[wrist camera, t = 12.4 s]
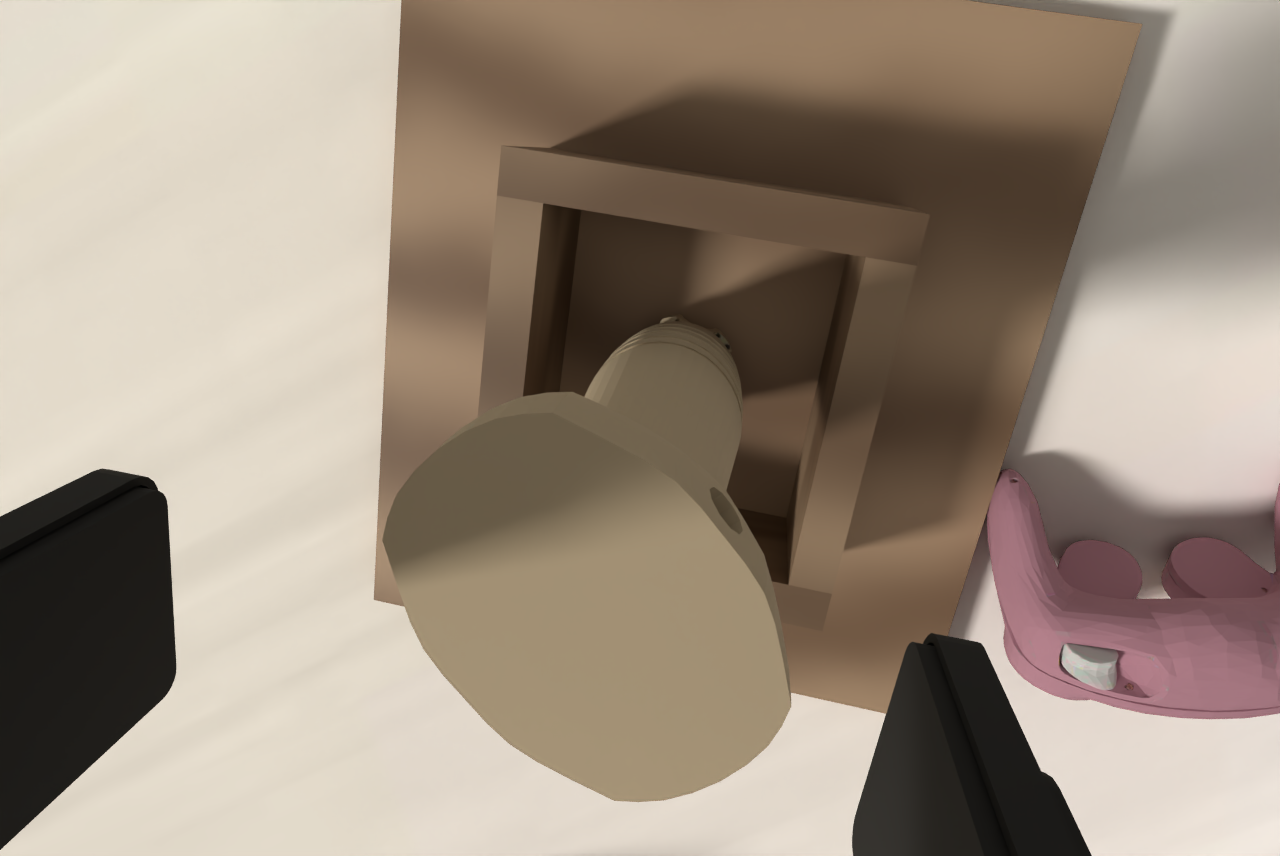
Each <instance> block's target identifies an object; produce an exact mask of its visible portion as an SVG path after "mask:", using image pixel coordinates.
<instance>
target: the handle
mask: <svg viewBox="0 0 1280 856" xmlns="http://www.w3.org/2000/svg"><path fill="white" fill-rule="evenodd" d="M731 351H732V350H731V346H730V343H729V341H728V339H727V337H726V336H725V335H724V334H723V333H722V332H721V331H720V330H718V329H717V328H714V329H706V328H704V327H702V326H699V325H696V324H693V323H690V322H689V321H688V320H686V319H685V318H684V317H683V316H682V315H680V314H678V315H670V316H666V317H664V318H663V319H662V320H661V322H660V324H656V325H653V326H650V327H648V328H646V329H644V330H642V331H640V332H638V333H637V334H635V335H633V336H632V337H631V338H629V339H628V340H627V341H626V342H624V343H623V344H622V345H621V346H620V347H619V348H618V349H616V350H615V351H614V352H613V353H612V354H611V356H610V357H609V358H608V359H607V361H606V362H605V363H604V364H603V366H602V367H601V368H600V370H599V371H598V373H597V374H596V376H595V377H594V379H593V381H592V382H591V384H590V386H589V388H588V390H587V392H586V394H585V396H584V397H583V396H581V395H579V394H576V393H574V392H550V393H542V394H536V395H530V396H524V397H519V398H517V399H514V400H512V401H509V402H507V403H505V404H502V405H500V406H497V407H495V408H493V409H491V410H489V411H487V412H486V413H484V414H483V415H481V416H479V417H478V418H476V419H475V420H473V421H472V422H470V423H469V424H467V425H465V426H464V427H462V428H461V429H459V430H458V431H457V432H456V433H455V434H454V435H452V436H451V437H450V438H449V439H448V440H447V441H446V442H445V443H444V444H442V445H441V446H440V447H439V448H438V449H437V450H436V451H435V452H434V453H433V454H432V455H431V456H430V457H428V458H427V459H426V460H425V461H424V462H423V463H422V464H421V465H420V466H419V467H418V468H417V469H415V470H414V472H413V473H412V474H411V476H410V477H409V478H408V480H407V481H406V482H405V484H404V485H403V486H402V488H401V489H400V491H399V492H398V493H397V495H396V497H395V500H394V502H393V505H392V507H391V510H390V512H389V515H388V517H387V521H386V525H385V530H384V534H383V538H382V541H383V544H384V547H385V550H386V553H387V556H388V559H389V562H390V565H391V568H392V571H393V574H394V577H395V580H396V583H397V586H398V589H399V592H400V595H401V598H402V600H403V603H404V606H405V609H406V612H407V614H408V617H409V620H410V622H411V624H412V627H413V629H414V631H415V633H416V635H417V637H418V639H419V641H420V643H421V645H422V647H423V649H424V650H425V652H426V653H427V654H428V656H429V657H430V658H431V660H432V661H433V662H434V664H435V665H436V666H437V668H438V669H439V670H440V672H441V673H442V674H443V676H444V677H445V678H446V679H447V680H448V681H449V682H450V683H451V684H452V685H453V687H454V688H455V689H456V690H457V691H458V692H459V693H460V694H461V695H462V696H463V698H464V699H465V700H466V701H467V702H468V703H469V704H470V705H471V706H472V708H473V709H474V710H475V711H476V712H477V713H478V714H479V715H480V716H481V717H482V719H483V720H484V721H485V722H486V723H487V724H488V725H489V726H490V727H491V728H493V729H494V730H495V731H496V732H497V733H498V734H499V735H500V736H501V737H502V738H503V739H504V740H506V741H507V742H508V743H509V744H510V745H512V746H513V747H515V748H516V749H518V750H519V751H521V752H522V753H524V754H526V755H527V756H529V757H530V758H532V759H533V760H535V761H537V762H538V763H540V764H542V765H544V766H546V767H548V768H550V769H552V770H554V771H556V772H558V773H560V774H561V775H563V776H565V777H567V778H569V779H571V780H573V781H575V782H577V783H579V784H581V785H583V786H585V787H587V788H589V789H591V790H594V791H596V792H598V793H600V794H602V795H604V796H606V797H608V798H610V799H612V800H614V801H630V802H644V801H660V800H667V799H671V798H675V797H679V796H683V795H686V794H690V793H693V792H696V791H698V790H701V789H703V788H705V787H708V786H710V785H712V784H715V783H717V782H719V781H721V780H723V779H725V778H726V777H728V776H730V775H731V774H733V773H734V772H736V771H738V770H739V769H741V768H742V767H744V766H746V765H747V764H748V763H749V762H751V761H752V760H753V759H754V758H755V757H756V756H757V755H758V754H760V753H761V752H762V751H763V750H764V749H765V748H766V747H767V746H768V745H769V744H770V742H771V741H772V740H773V738H774V737H775V735H776V734H777V732H778V731H779V729H780V728H781V727H782V724H783V722H784V720H785V718H786V716H787V714H788V712H789V710H790V708H791V689H790V674H789V666H788V660H787V654H786V647H785V642H784V636H783V631H782V625H781V620H780V615H779V610H778V606H777V601H776V597H775V592H774V588H773V584H772V581H771V577H770V574H769V570H768V567H767V563H766V560H765V556H764V553H763V552H762V550H761V548H760V546H759V545H758V543H757V541H756V539H755V538H754V536H753V534H752V532H751V531H750V529H749V527H748V525H747V524H746V522H745V520H744V518H743V517H742V515H741V514H740V512H739V510H738V509H737V507H736V506H735V504H734V503H733V501H732V499H731V498H730V496H729V495H728V493H727V491H726V490H727V486H728V482H729V479H730V475H731V472H732V468H733V465H734V461H735V458H736V454H737V451H738V447H739V443H740V439H741V431H742V418H743V400H742V390H741V383H740V378H739V374H738V371H737V367H736V364H735V362H734V360H733V357H732V355H731Z"/></svg>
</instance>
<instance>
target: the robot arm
mask: <svg viewBox="0 0 1280 856" xmlns="http://www.w3.org/2000/svg"><path fill="white" fill-rule="evenodd" d="M175 675H176V651H175V633H174V615H173V597H172V578H171V560H170V542H169V524H168V505H167V500H166V498H165V496H164V494H163V493H161V492H160V491H158V488H157V486H156V485H155V483H154V481H153V480H151V479H150V478H148V477H144V476H139V475H134V474H129V473H124V472H119V471H113V470H108V469H99V470H96V471H93V472H91V473H89V474H87V475H85V476H83V477H81V478H79V479H77V480H74V481H72V482H70V483H68V484H66V485H64V486H62V487H60V488H58V489H56V490H54V491H52V492H50V493H48V494H46V495H44V496H42V497H40V498H38V499H35V500H33V501H31V502H29V503H27V504H25V505H23V506H21V507H19V508H17V509H15V510H13V511H11V512H9V513H7V514H5V515H3V516H1V517H0V850H1V849H2V848H3V847H4V846H5V845H6V844H7V843H8V842H9V841H10V840H11V839H12V838H14V837H15V836H16V835H17V834H18V833H19V832H20V831H21V830H22V829H23V828H24V827H25V826H26V825H28V824H29V823H30V822H31V821H32V820H33V819H34V818H35V817H36V816H37V815H38V814H39V813H40V812H42V811H43V810H44V809H45V808H46V807H47V806H48V805H49V804H50V803H51V802H52V801H53V800H54V799H56V798H57V797H58V796H59V795H60V794H61V793H62V792H63V791H64V790H65V789H66V788H67V787H68V786H70V785H71V784H72V783H73V782H74V781H75V780H76V779H77V778H78V777H79V776H80V775H81V774H82V773H84V772H85V771H86V770H87V769H88V768H89V767H90V766H91V765H92V764H93V763H94V762H95V761H96V760H98V759H99V758H100V757H101V756H102V755H103V754H104V753H105V752H106V751H107V750H108V749H109V748H110V747H112V746H113V745H114V744H115V743H116V742H117V741H118V740H119V739H120V738H121V737H122V736H123V735H124V734H126V733H127V732H128V731H129V730H130V729H131V728H132V727H133V726H134V725H135V724H136V723H137V722H138V721H140V720H141V719H142V718H143V717H144V716H145V715H146V714H147V713H148V712H149V711H150V710H151V709H153V708H154V707H155V706H156V705H157V704H158V703H159V702H160V701H161V700H162V699H163V698H164V697H165V696H166V695H167V693H168V691H169V690H170V688H171V686H172V684H173V682H174V679H175ZM852 848H853V856H1091V853H1090V851H1089V849H1088V847H1087V845H1086V843H1085V841H1084V839H1083V837H1082V834H1081V832H1080V830H1079V828H1078V826H1077V824H1076V822H1075V820H1074V818H1073V816H1072V813H1071V811H1070V809H1069V807H1068V805H1067V803H1066V801H1065V799H1064V797H1063V795H1062V792H1061V790H1060V788H1059V787H1058V785H1057V784H1056V782H1055V781H1054V779H1053V778H1052V777H1051V776H1049V775H1048V774H1046V773H1044V772H1041V770H1040V768H1039V766H1038V764H1037V762H1036V759H1035V757H1034V755H1033V753H1032V751H1031V748H1030V746H1029V744H1028V742H1027V740H1026V738H1025V735H1024V733H1023V731H1022V729H1021V727H1020V725H1019V722H1018V720H1017V718H1016V716H1015V714H1014V711H1013V709H1012V707H1011V705H1010V703H1009V701H1008V698H1007V696H1006V694H1005V692H1004V690H1003V687H1002V685H1001V683H1000V681H999V679H998V677H997V674H996V672H995V670H994V668H993V666H992V664H991V661H990V659H989V657H988V655H987V653H986V650H985V648H984V647H983V645H982V644H981V643H978V642H974V641H969V640H964V639H959V638H954V637H949V636H944V635H939V634H934V633H930V634H929V635H927V637H926V639H925V640H924V642H923V644H921V643H916V642H911V643H909V645H908V646H907V648H906V651H905V654H904V657H903V660H902V664H901V667H900V670H899V674H898V677H897V680H896V683H895V687H894V690H893V693H892V697H891V700H890V703H889V706H888V710H887V713H886V716H885V720H884V723H883V726H882V730H881V733H880V736H879V739H878V743H877V746H876V749H875V753H874V756H873V759H872V762H871V766H870V769H869V772H868V776H867V779H866V782H865V785H864V789H863V792H862V795H861V799H860V802H859V805H858V808H857V812H856V815H855V819H854V825H853V835H852Z"/></svg>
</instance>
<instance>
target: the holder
mask: <svg viewBox="0 0 1280 856" xmlns="http://www.w3.org/2000/svg"><path fill="white" fill-rule="evenodd" d="M1141 27H1142V24H1139V23H1131V22H1124V21H1116V20H1109V19H1101V18H1094V17H1087V16H1079V15H1072V14H1064V13H1057V12H1049V11H1042V10H1034V9H1027V8H1020V7H1012V6H1005V5H997V4H990V3H982V2H975V1H968V0H402V1H401V23H400V45H399V66H398V88H397V110H396V131H395V153H394V175H393V196H392V218H391V240H390V262H389V283H388V305H387V327H386V348H385V370H384V392H383V413H382V435H381V457H380V479H379V500H378V522H377V544H376V565H375V587H374V600H377V601H382V602H386V603H391V604H395V605H400V606H404V603H403V600H402V598H401V595H400V592H399V589H398V586H397V583H396V580H395V577H394V574H393V571H392V568H391V565H390V562H389V559H388V556H387V553H386V550H385V547H384V544H383V541H382V538H383V534H384V530H385V525H386V521H387V517H388V515H389V512H390V510H391V507H392V505H393V502H394V500H395V497H396V495H397V493H398V492H399V491H400V489H401V488H402V486H403V485H404V484H405V482H406V481H407V480H408V478H409V477H410V476H411V474H412V473H413V472H414V470H415V469H417V468H418V467H419V466H420V465H421V464H422V463H423V462H424V461H425V460H426V459H427V458H428V457H430V456H431V455H432V454H433V453H434V452H435V451H436V450H437V449H438V448H439V447H440V446H441V445H442V444H444V443H445V442H446V441H447V440H448V439H449V438H450V437H451V436H452V435H454V434H455V433H456V432H457V431H458V430H459V429H461V428H462V427H464V426H465V425H467V424H469V423H470V422H472V421H473V420H475V419H476V418H478V417H479V416H481V415H483V414H484V413H486V412H487V411H489V410H491V409H493V408H495V407H497V406H500V405H502V404H505V403H507V402H509V401H512V400H514V399H517V398H519V397H524V396H530V395H536V394H542V393H550V392H574V393H576V394H579V395H581V396H583V397H584V396H585V394H586V392H587V390H588V388H589V386H590V384H591V382H592V381H593V379H594V377H595V376H596V374H597V373H598V371H599V370H600V368H601V367H602V366H603V364H604V363H605V362H606V361H607V359H608V358H609V357H610V356H611V354H612V353H613V352H614V351H615V350H616V349H618V348H619V347H620V346H621V345H622V344H623V343H624V342H626V341H627V340H628V339H629V338H631V337H632V336H633V335H635V334H637V333H638V332H640V331H642V330H644V329H646V328H648V327H650V326H653V325H656V324H660V322H661V320H662V319H663V318H664V317H666V316H670V315H678V314H680V315H682V316H683V317H684V318H685V319H686V320H688V321H689V322H690V323H693V324H696V325H699V326H702V327H704V328H706V329H714V328H717V329H718V330H720V331H721V332H722V333H723V334H724V335H725V336H726V337H727V339H728V341H729V343H730V346H731V350H732V351H731V355H732V357H733V360H734V362H735V364H736V367H737V371H738V374H739V378H740V383H741V390H742V400H743V418H742V431H741V439H740V443H739V447H738V451H737V454H736V458H735V461H734V465H733V468H732V472H731V475H730V479H729V482H728V486H727V490H726V491H727V493H728V495H729V496H730V498H731V499H732V501H733V503H734V504H735V506H736V507H737V509H738V510H739V512H740V514H741V515H742V517H743V518H744V520H745V522H746V524H747V525H748V527H749V529H750V531H751V532H752V534H753V536H754V538H755V539H756V541H757V543H758V545H759V546H760V548H761V550H762V552H763V553H764V556H765V560H766V563H767V567H768V570H769V574H770V577H771V581H772V584H773V588H774V592H775V597H776V601H777V606H778V610H779V615H780V620H781V625H782V631H783V636H784V642H785V647H786V654H787V660H788V666H789V674H790V689H791V693H796V694H800V695H805V696H809V697H814V698H818V699H823V700H827V701H832V702H836V703H841V704H845V705H850V706H854V707H859V708H863V709H868V710H872V711H877V712H881V713H887V710H888V706H889V703H890V700H891V697H892V693H893V690H894V687H895V683H896V680H897V677H898V674H899V670H900V667H901V664H902V660H903V657H904V654H905V651H906V648H907V646H908V645H909V643H911V642H916V643H921V644H923V642H924V640H925V639H926V637H927V635H929V634H930V633H934V634H939V635H944V636H948V633H949V630H950V627H951V624H952V621H953V617H954V614H955V611H956V608H957V605H958V602H959V599H960V595H961V592H962V589H963V586H964V583H965V580H966V577H967V573H968V570H969V567H970V564H971V561H972V558H973V555H974V551H975V548H976V545H977V542H978V539H979V536H980V533H981V529H982V526H983V523H984V520H985V517H986V514H987V511H988V507H989V504H990V501H991V498H992V495H993V492H994V489H995V485H996V482H997V479H998V476H999V473H1000V470H1001V467H1002V463H1003V460H1004V457H1005V454H1006V451H1007V448H1008V445H1009V441H1010V438H1011V435H1012V432H1013V429H1014V426H1015V423H1016V420H1017V416H1018V413H1019V410H1020V407H1021V404H1022V401H1023V398H1024V394H1025V391H1026V388H1027V385H1028V382H1029V379H1030V376H1031V372H1032V369H1033V366H1034V363H1035V360H1036V357H1037V354H1038V350H1039V347H1040V344H1041V341H1042V338H1043V335H1044V332H1045V328H1046V325H1047V322H1048V319H1049V316H1050V313H1051V310H1052V306H1053V303H1054V300H1055V297H1056V294H1057V291H1058V288H1059V284H1060V281H1061V278H1062V275H1063V272H1064V269H1065V266H1066V262H1067V259H1068V256H1069V253H1070V250H1071V247H1072V244H1073V240H1074V237H1075V234H1076V231H1077V228H1078V225H1079V222H1080V218H1081V215H1082V212H1083V209H1084V206H1085V203H1086V200H1087V196H1088V193H1089V190H1090V187H1091V184H1092V181H1093V178H1094V175H1095V171H1096V168H1097V165H1098V162H1099V159H1100V156H1101V153H1102V149H1103V146H1104V143H1105V140H1106V137H1107V134H1108V131H1109V127H1110V124H1111V121H1112V118H1113V115H1114V112H1115V109H1116V105H1117V102H1118V99H1119V96H1120V93H1121V90H1122V87H1123V83H1124V80H1125V77H1126V74H1127V71H1128V68H1129V65H1130V61H1131V58H1132V55H1133V52H1134V49H1135V46H1136V43H1137V39H1138V36H1139V33H1140V30H1141ZM404 607H405V606H404Z"/></svg>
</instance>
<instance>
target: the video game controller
mask: <svg viewBox="0 0 1280 856" xmlns="http://www.w3.org/2000/svg"><path fill="white" fill-rule="evenodd" d="M987 532H988V544H989V550H990V557H991V563H992V571H993V575H994V581H995V585H996V589H997V594H998V598H999V602H1000V606H1001V611H1002V615H1003V619H1004V624H1005V630H1004V638H1003V639H1004V647H1005V651H1006V654H1007V657H1008V659H1009V661H1010V663H1011V665H1012V666H1013V667H1014V669H1015V670H1016V671H1017V672H1018V673H1019V674H1020V675H1021V676H1022V677H1023V678H1024V679H1025V680H1027V681H1028V682H1029V683H1031V684H1032V685H1034V686H1035V687H1037V688H1039V689H1041V690H1043V691H1045V692H1047V693H1049V694H1052V695H1054V696H1057V697H1061V698H1064V699H1069V700H1090V699H1091V700H1094V701H1097V702H1101V703H1104V704H1107V705H1110V706H1113V707H1117V708H1122V709H1127V710H1131V711H1136V712H1141V713H1145V714H1153V715H1161V716H1169V717H1178V718H1195V719H1233V718H1250V717H1257V716H1265V715H1272V714H1278V713H1280V484H1279V488H1278V493H1277V498H1276V503H1275V517H1274V548H1275V560H1276V572H1275V573H1274V574H1272V573H1269V572H1268V571H1266V570H1265V569H1263V568H1262V567H1260V566H1259V565H1257V564H1256V563H1255V562H1254V561H1253V560H1251V559H1250V558H1249V557H1248V556H1247V555H1245V554H1244V553H1243V552H1242V551H1241V550H1239V549H1238V548H1236V547H1234V546H1233V545H1231V544H1229V543H1227V542H1225V541H1222V540H1218V539H1213V538H1208V537H1201V538H1191V539H1188V540H1185V541H1183V542H1181V543H1179V544H1178V545H1177V546H1175V547H1174V549H1173V551H1172V553H1171V555H1170V557H1169V559H1168V561H1167V563H1166V565H1165V568H1164V570H1163V572H1162V577H1161V579H1162V584H1163V587H1164V589H1165V591H1166V592H1167V594H1168V595H1169V597H1170V598H1171V599H1136V597H1137V595H1138V593H1139V590H1140V588H1141V585H1142V572H1141V569H1140V567H1139V564H1138V563H1137V561H1136V559H1135V558H1134V557H1133V556H1132V555H1131V554H1130V553H1128V552H1127V551H1126V550H1124V549H1123V548H1120V547H1118V546H1116V545H1113V544H1110V543H1108V542H1103V541H1095V540H1085V541H1077V542H1075V543H1073V544H1071V545H1070V546H1069V547H1068V548H1066V550H1065V552H1064V555H1063V556H1062V557H1061V559H1060V562H1059V564H1058V567H1057V566H1056V564H1055V561H1054V559H1053V557H1052V554H1051V552H1050V549H1049V546H1048V542H1047V538H1046V534H1045V530H1044V526H1043V522H1042V518H1041V514H1040V511H1039V507H1038V503H1037V500H1036V498H1035V496H1034V494H1033V492H1032V491H1031V489H1030V487H1029V485H1028V483H1027V482H1026V481H1025V480H1024V478H1023V477H1022V476H1021V475H1020V474H1019V473H1018V472H1016V471H1015V470H1013V469H1005V470H1002V471H1001V472H1000V473H999V476H998V479H997V482H996V485H995V489H994V492H993V495H992V498H991V501H990V504H989V507H988V511H987Z"/></svg>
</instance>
